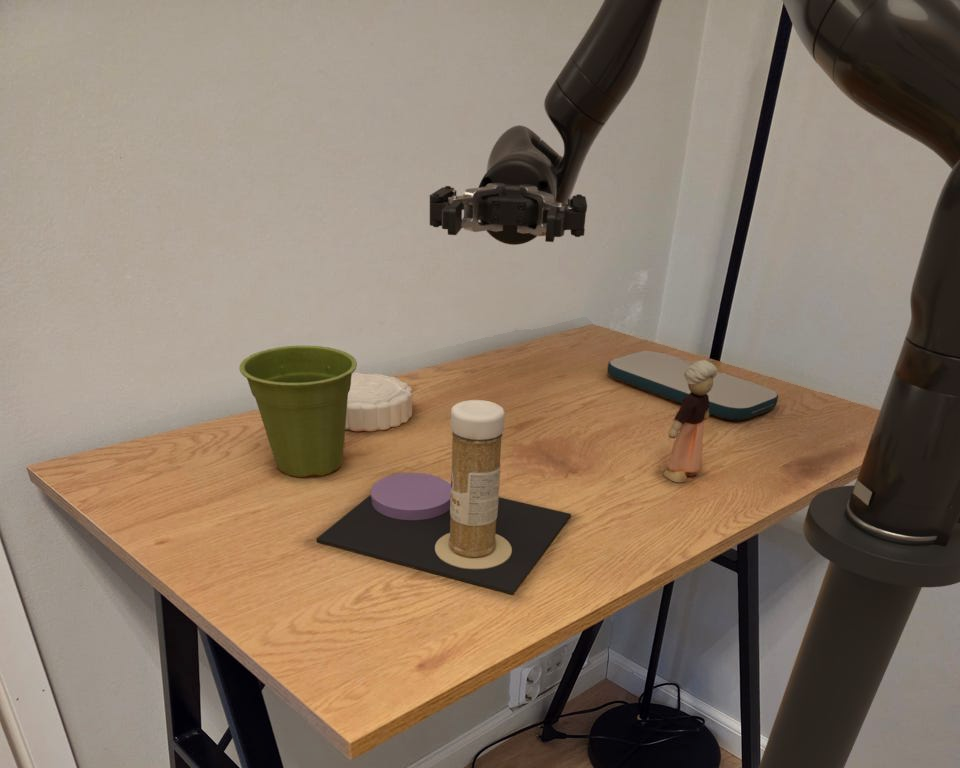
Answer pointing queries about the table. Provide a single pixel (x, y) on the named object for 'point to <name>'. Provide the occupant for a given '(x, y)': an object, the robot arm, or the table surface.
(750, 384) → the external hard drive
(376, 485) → the lilac disc
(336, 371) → the plant pot
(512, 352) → the table surface
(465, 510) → the spice jar
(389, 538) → the table mat
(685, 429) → the grandmother figurine
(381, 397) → the mooncake
